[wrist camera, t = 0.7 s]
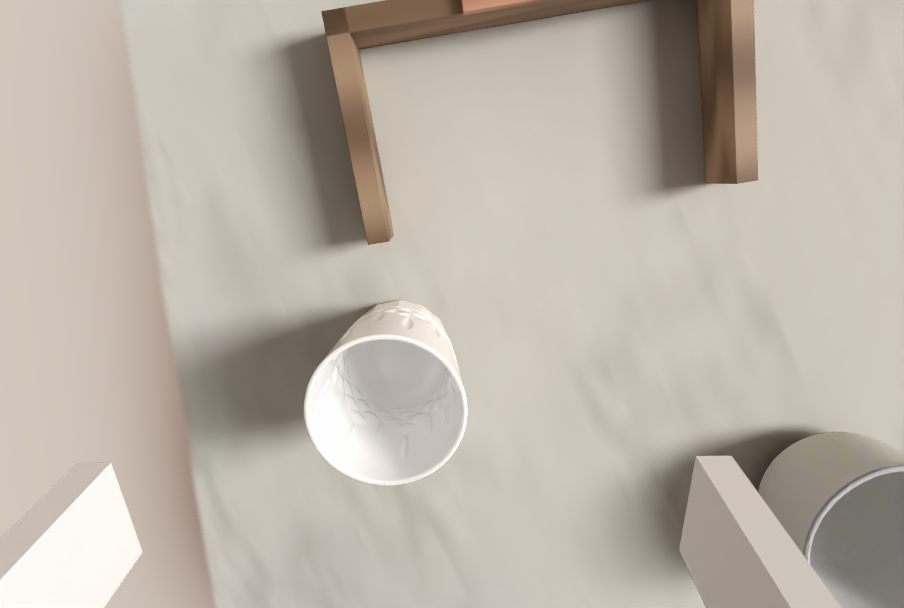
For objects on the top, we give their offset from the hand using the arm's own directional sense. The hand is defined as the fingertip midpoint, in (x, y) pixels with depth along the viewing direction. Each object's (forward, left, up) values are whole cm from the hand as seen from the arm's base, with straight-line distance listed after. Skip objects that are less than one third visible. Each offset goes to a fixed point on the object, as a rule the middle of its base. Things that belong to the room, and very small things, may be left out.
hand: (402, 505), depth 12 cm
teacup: (-18, -27, -23) cm, 40 cm away
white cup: (-3, +2, -23) cm, 23 cm away
